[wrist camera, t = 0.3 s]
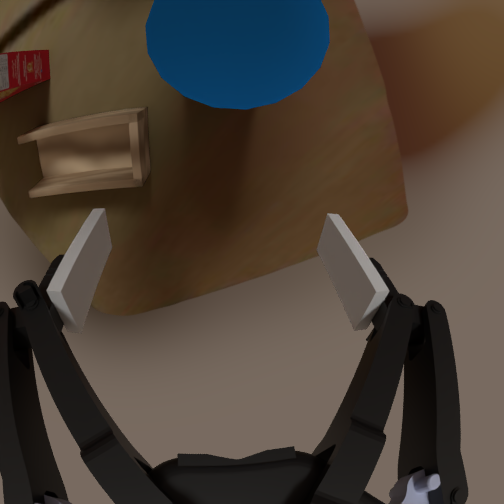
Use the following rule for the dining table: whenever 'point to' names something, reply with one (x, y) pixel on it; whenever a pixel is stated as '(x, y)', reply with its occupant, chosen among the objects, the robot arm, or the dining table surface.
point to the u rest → (92, 152)
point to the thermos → (237, 48)
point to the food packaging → (22, 71)
